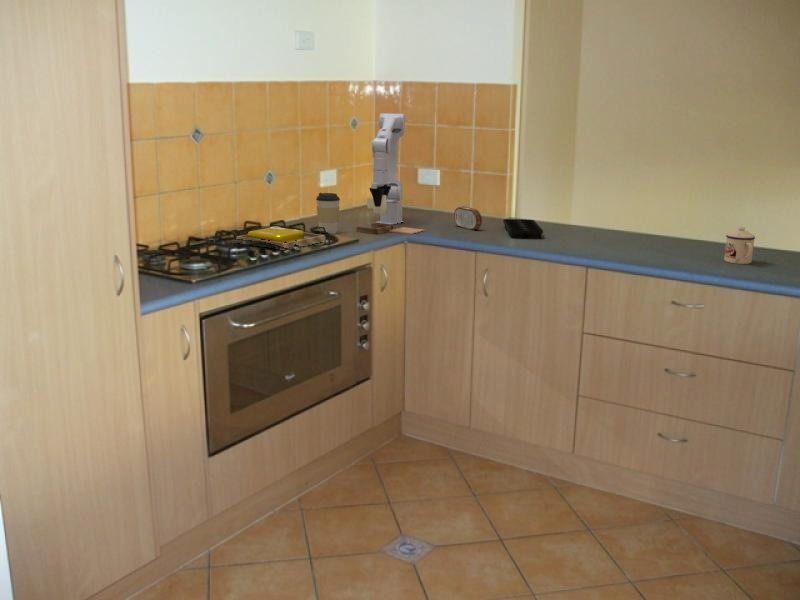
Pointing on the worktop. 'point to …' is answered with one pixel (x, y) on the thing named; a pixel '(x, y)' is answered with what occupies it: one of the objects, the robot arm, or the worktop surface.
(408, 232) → the plate
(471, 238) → the worktop surface
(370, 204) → the jug
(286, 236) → the element tile
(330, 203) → the coffee cup
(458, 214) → the brown speaker
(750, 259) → the teacup with lid
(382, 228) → the holder
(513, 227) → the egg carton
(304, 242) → the corral
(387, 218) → the robot arm
